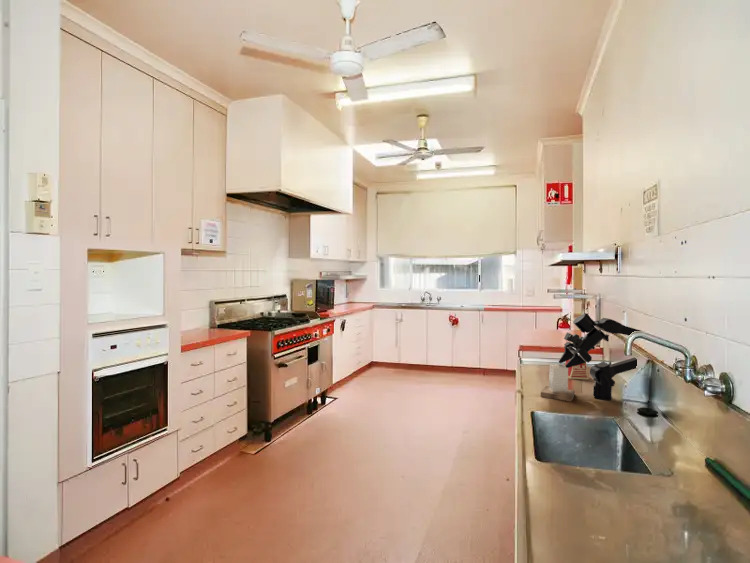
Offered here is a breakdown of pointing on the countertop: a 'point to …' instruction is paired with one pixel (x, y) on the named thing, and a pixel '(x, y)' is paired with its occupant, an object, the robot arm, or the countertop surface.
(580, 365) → the milk carton
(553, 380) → the cream tea tin
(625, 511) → the countertop surface
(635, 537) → the countertop surface
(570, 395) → the walnut block
